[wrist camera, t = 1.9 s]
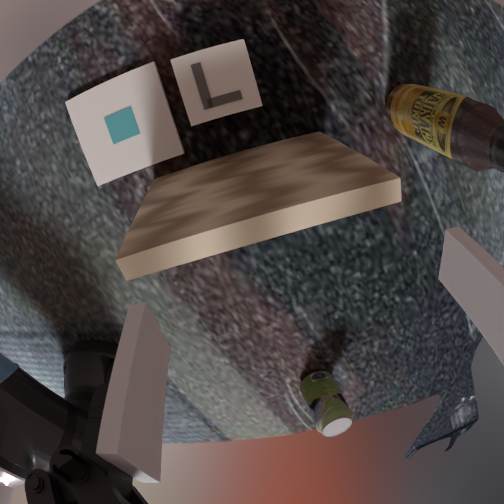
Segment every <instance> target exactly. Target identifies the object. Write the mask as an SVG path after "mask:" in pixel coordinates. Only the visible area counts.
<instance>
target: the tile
mask: <svg viewBox="0 0 504 504" xmlns="http://www.w3.org/2000/svg"><path fill="white" fill-rule="evenodd" d="M65 103H66V106H67V109H68V112H69V115H70V117H71V120H72V123H73V126H74V128H75V131H76V134H77V137H78V139H79V142H80V144H81V147H82V150H83V152H84V155H85V157H86V160H87V162H88V164H89V167H90V169H91V172H92V174H93V177H94V179H95V181H96V184H97V186H100V185H102V184H104V183H107V182H109V181H112V180H114V179H116V178H119V177H121V176H124V175H127V174H129V173H132V172H134V171H137V170H140V169H142V168H145V167H148V166H150V165H153V164H156V163H159V162H161V161H164V160H167V159H170V158H173V157H176V156H179V155H182V154H184V153H185V151H184V148H183V145H182V142H181V139H180V136H179V133H178V130H177V127H176V124H175V121H174V118H173V115H172V112H171V109H170V106H169V103H168V100H167V97H166V94H165V91H164V88H163V85H162V82H161V78H160V75H159V72H158V69H157V66H156V63H155V62H151V63H149V64H146V65H144V66H141V67H139V68H136V69H134V70H131V71H129V72H126V73H124V74H122V75H119V76H117V77H115V78H113V79H110V80H108V81H106V82H104V83H102V84H100V85H97V86H95V87H93V88H91V89H89V90H87V91H85V92H83V93H81V94H79V95H77V96H76V97H74V98H72V99H70V100H68V101H66V102H65Z"/></svg>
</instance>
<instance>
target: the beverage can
mask: <svg viewBox="0 0 504 504" xmlns="http://www.w3.org/2000/svg"><path fill="white" fill-rule="evenodd" d="M300 389H301V392H302V394H303V397H304V399H305V402H306V404H307V407H308V409H309V411H310V414H311V416H312V419H313V421H314V424H315V426H316V429H317V430H318V431H319V432H321V433H322V434H323V435H324V436H326V437H331V436H336V435H339V434H341V433H343V432H345V431H346V430H347V429H348V428H349V427H350V426H351V424H352V421H351V419H352V413H351V411H350V409H349V407H348V405H347V403H346V401H345V399H344V397H343V396H342V394H341V392H340V390H339V388H338V386H337V384H336V382H335V381H334V379H333V377H332V375H331V374H330V373H329V372H327V371H317V372H313V373H311V374H309V375H308V376H307V377H305V378H304V380H303V381H302V382H301V385H300Z"/></svg>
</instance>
